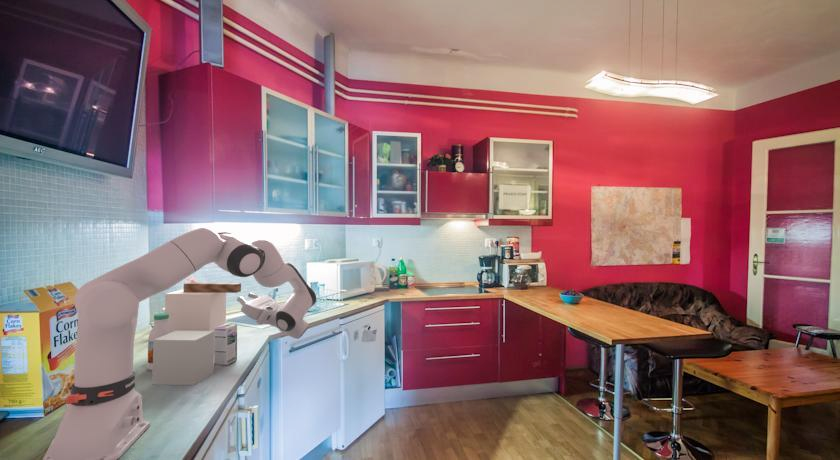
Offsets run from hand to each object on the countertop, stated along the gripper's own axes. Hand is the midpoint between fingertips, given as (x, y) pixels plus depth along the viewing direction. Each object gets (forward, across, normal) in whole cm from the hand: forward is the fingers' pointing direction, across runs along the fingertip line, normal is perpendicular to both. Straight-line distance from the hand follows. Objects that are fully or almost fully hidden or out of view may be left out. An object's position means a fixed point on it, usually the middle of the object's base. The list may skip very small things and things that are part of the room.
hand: (243, 295), depth 147 cm
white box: (+5, 0, +31) cm, 31 cm away
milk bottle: (+8, +15, +33) cm, 37 cm away
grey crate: (-5, +24, +25) cm, 36 cm away
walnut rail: (+12, 0, +5) cm, 13 cm away
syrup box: (-10, +9, +22) cm, 26 cm away
